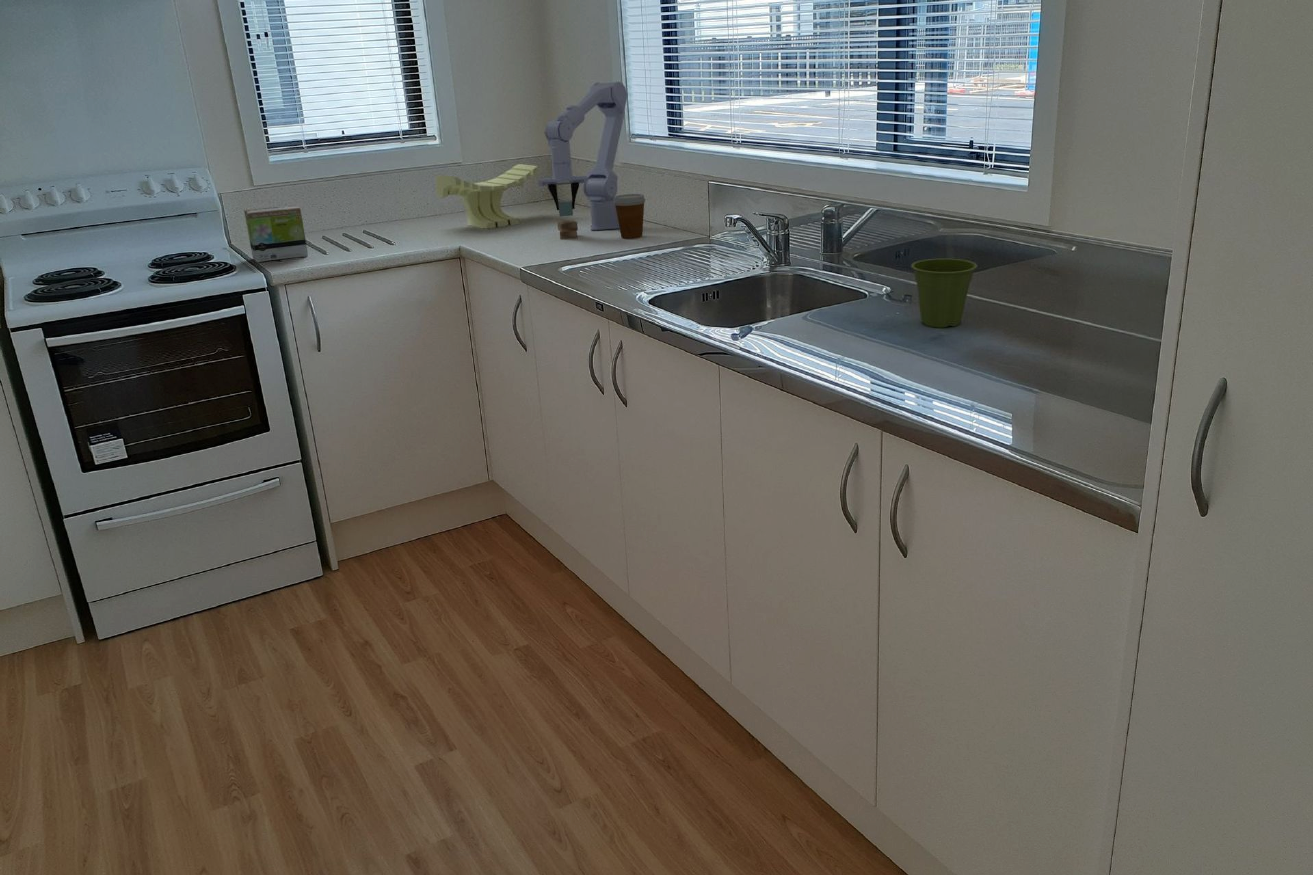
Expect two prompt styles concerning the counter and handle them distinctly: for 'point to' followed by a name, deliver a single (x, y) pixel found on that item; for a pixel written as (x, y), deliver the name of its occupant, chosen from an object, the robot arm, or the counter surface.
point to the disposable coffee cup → (630, 215)
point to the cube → (565, 208)
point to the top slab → (567, 225)
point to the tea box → (276, 233)
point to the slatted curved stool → (485, 195)
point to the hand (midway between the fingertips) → (565, 209)
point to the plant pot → (942, 290)
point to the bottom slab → (568, 234)
